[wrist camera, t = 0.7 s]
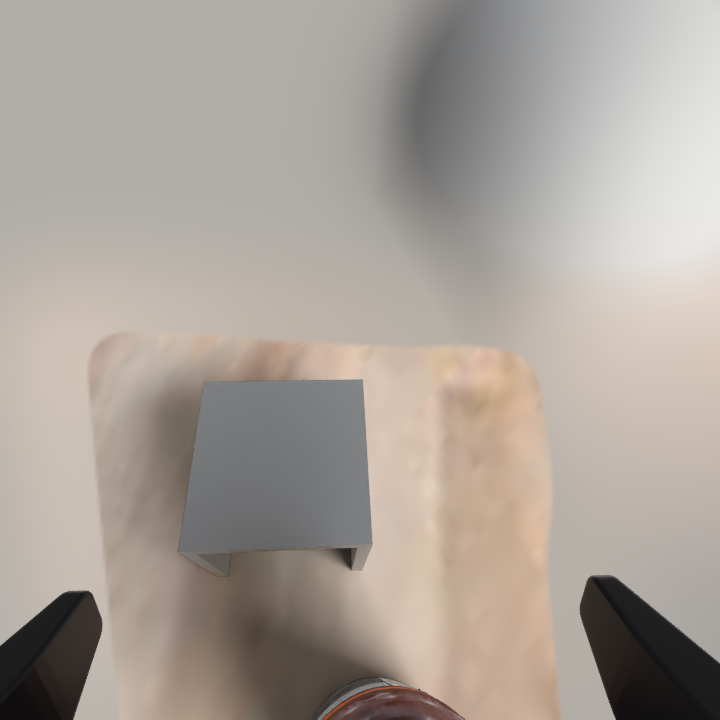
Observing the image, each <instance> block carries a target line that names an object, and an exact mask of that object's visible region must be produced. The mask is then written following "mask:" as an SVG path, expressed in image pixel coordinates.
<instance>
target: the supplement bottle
mask: <svg viewBox="0 0 720 720" xmlns="http://www.w3.org/2000/svg"><path fill="white" fill-rule="evenodd" d="M312 720H465V719H464V718H463V717H461V716H460V715H459V714H458V713H457V712H455V711H454V710H453V709H451V708H450V707H449V706H447V705H446V704H445V703H443V702H441V701H439V700H438V699H436V698H434V697H432V696H430V695H428V694H427V693H426V692H423V691H420V689H418V690H417V689H415V688H413V687H410V686H407V685H405V684H402V683H400V682H397V681H394V680H391V679H386V678H378V677H366V678H362V679H357V680H355V681H352V682H350V683H348V684H346V685H344V686H342V687H340V688H339V689H337V690H336V691H335V692H334V693H333V694H331V695H330V696H329V697H328V698H327V699H326V700H325V701H324V702H323V704H322V705H321V706H320V708H319V709H318V710H317V712H316V713H315V715H314V717H313V718H312Z"/></svg>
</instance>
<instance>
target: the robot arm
mask: <svg viewBox="0 0 720 720" xmlns="http://www.w3.org/2000/svg"><path fill="white" fill-rule="evenodd" d="M580 615H581V619H582V623H583V626H584V629H585V632H586V635H587V638H588V640H589V643H590V646H591V649H592V652H593V655H594V658H595V661H596V664H597V667H598V670H599V673H600V676H601V679H602V682H603V685H604V688H605V691H606V694H607V697H608V700H609V703H610V705H611V708H612V711H613V714H614V716H615V718H616V720H720V663H719V662H718V661H717V660H715V659H714V658H713V657H712V656H711V655H709V654H708V653H707V652H706V651H705V650H703V649H702V648H701V647H700V646H698V645H697V644H696V643H695V642H694V641H692V640H691V639H690V638H689V637H688V636H686V635H685V634H684V633H683V632H682V631H680V630H679V629H678V628H677V627H675V626H674V625H673V624H672V623H670V622H669V621H668V620H667V619H666V618H664V617H663V616H662V615H661V614H660V613H658V612H657V611H656V610H655V609H654V608H652V607H651V606H650V605H649V604H648V603H646V602H645V601H644V600H643V599H641V598H640V597H639V596H638V595H637V594H635V593H634V592H633V591H632V590H631V589H629V588H628V587H627V586H626V585H625V584H623V583H622V582H621V581H620V580H618V579H617V578H615V577H614V576H610V575H593V576H590V577H589V578H588V580H587V583H586V586H585V589H584V593H583V596H582V600H581V603H580ZM101 632H102V618H101V616H100V613H99V610H98V608H97V605H96V602H95V600H94V597H93V595H92V593H91V592H89V591H68V592H65V593H63V594H62V595H60V596H59V597H58V598H56V599H55V600H54V601H53V602H52V603H51V604H49V605H48V606H47V607H46V608H45V609H43V610H42V611H41V612H40V613H39V614H38V615H36V616H35V617H34V618H33V619H32V620H30V621H29V622H28V623H27V624H26V625H24V626H23V627H22V628H21V629H20V630H19V631H17V632H16V633H15V634H14V635H13V636H11V637H10V638H9V639H8V640H7V641H6V642H4V643H3V644H2V645H1V646H0V720H73V718H74V716H75V712H76V709H77V706H78V703H79V700H80V697H81V694H82V691H83V688H84V685H85V682H86V679H87V676H88V673H89V670H90V667H91V663H92V660H93V657H94V654H95V651H96V648H97V645H98V642H99V639H100V636H101Z"/></svg>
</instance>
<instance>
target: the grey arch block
mask: <svg viewBox="0 0 720 720" xmlns="http://www.w3.org/2000/svg"><path fill="white" fill-rule="evenodd" d="M371 547H372V529H371V512H370V495H369V478H368V461H367V444H366V427H365V410H364V392H363V380H301V381H235V382H204V386H203V392H202V399H201V405H200V412H199V418H198V425H197V431H196V438H195V444H194V451H193V457H192V464H191V470H190V477H189V483H188V490H187V496H186V503H185V509H184V516H183V522H182V529H181V535H180V542H179V549H178V553H180V554H181V555H183V556H185V557H186V558H188V559H190V560H191V561H193V562H194V563H196V564H198V565H199V566H201V567H203V568H204V569H206V570H207V571H209V572H211V573H212V574H214V575H216V576H217V577H220V576H228V573H229V563H230V553H238V552H262V551H286V550H311V549H335V548H351V567H352V571H355V570H362V569H363V567H364V564H365V562H366V559H367V557H368V554H369V552H370V549H371Z"/></svg>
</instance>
